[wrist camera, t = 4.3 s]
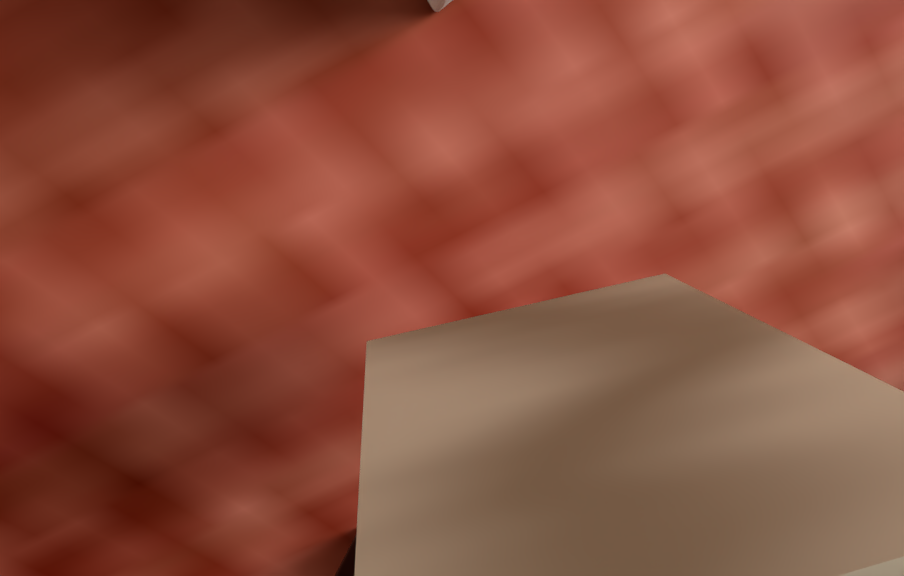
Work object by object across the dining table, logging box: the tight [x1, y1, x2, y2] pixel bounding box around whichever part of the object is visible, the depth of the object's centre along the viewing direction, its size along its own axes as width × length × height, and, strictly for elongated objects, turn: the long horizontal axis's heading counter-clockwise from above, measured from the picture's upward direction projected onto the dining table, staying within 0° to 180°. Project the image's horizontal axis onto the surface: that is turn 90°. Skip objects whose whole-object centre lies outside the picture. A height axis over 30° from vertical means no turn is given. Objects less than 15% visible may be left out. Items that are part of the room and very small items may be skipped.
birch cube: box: [354, 274, 904, 576], centre depth 6 cm, size 5×5×5 cm
